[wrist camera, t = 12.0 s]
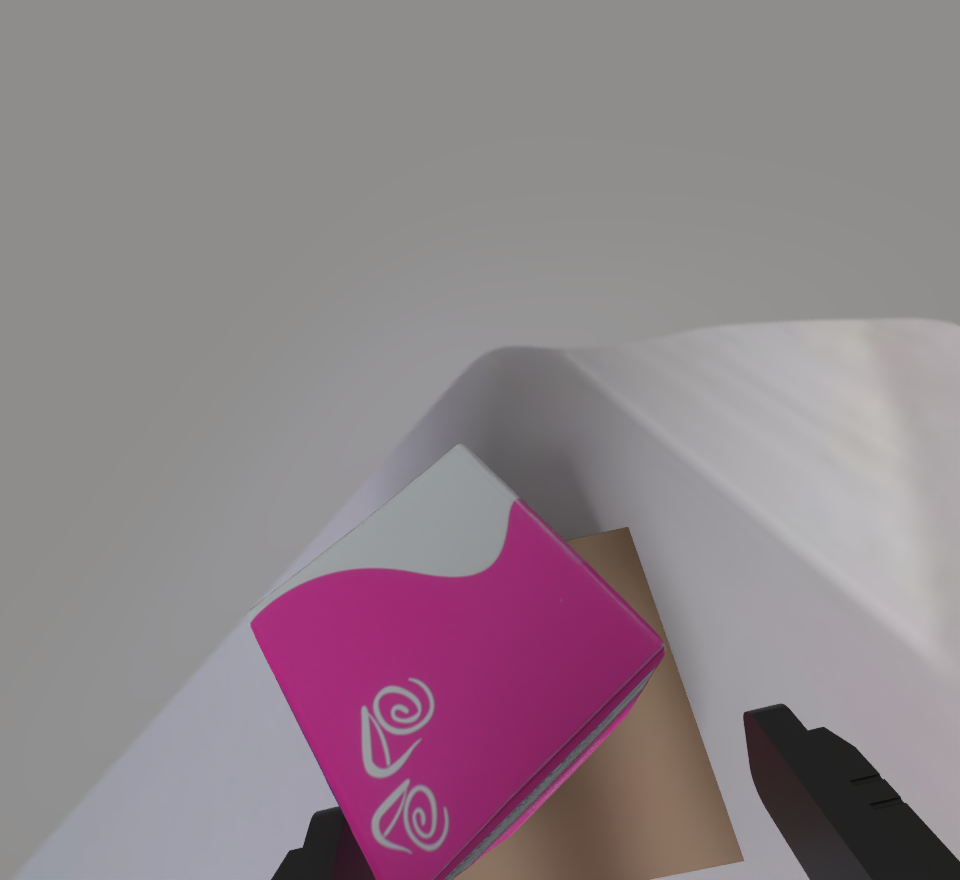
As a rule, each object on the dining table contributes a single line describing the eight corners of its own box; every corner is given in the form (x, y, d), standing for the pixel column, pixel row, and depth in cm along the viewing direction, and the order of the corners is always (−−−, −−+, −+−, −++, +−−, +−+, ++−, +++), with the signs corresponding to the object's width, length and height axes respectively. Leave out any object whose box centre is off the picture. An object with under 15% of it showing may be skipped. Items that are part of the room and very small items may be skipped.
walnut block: (437, 880, 21) (396, 929, 16) (409, 611, 27) (372, 583, 22) (698, 828, 21) (743, 860, 16) (615, 566, 26) (628, 526, 21)
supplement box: (407, 692, 19) (232, 605, 10) (524, 587, 21) (469, 424, 11) (505, 847, 16) (388, 935, 7) (635, 712, 17) (688, 629, 8)
